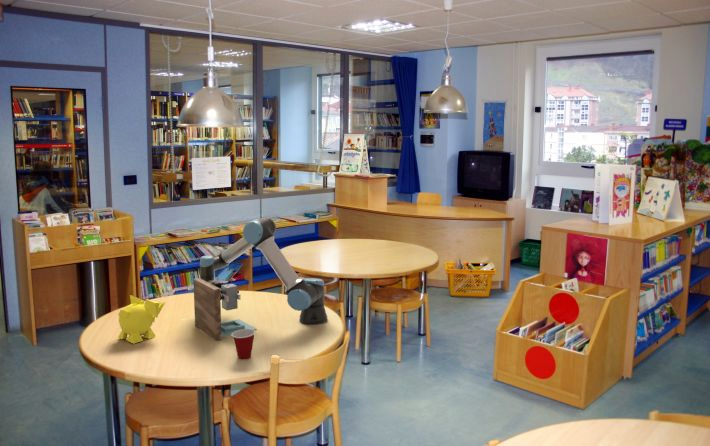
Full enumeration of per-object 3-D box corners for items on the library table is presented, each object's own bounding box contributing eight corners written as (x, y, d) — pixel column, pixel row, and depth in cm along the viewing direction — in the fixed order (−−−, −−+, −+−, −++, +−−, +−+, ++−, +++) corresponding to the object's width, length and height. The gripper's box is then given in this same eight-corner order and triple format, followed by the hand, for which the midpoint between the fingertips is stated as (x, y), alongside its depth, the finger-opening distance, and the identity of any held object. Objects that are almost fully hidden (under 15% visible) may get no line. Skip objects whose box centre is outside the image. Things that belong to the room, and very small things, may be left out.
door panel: (201, 325, 325) (199, 277, 320) (222, 339, 304) (221, 288, 300) (195, 326, 323) (193, 278, 318) (215, 340, 302) (214, 289, 298)
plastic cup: (233, 353, 286) (232, 328, 284) (256, 352, 287) (256, 328, 285) (230, 362, 276) (229, 336, 274) (254, 361, 277) (254, 336, 275)
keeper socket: (239, 319, 335) (239, 316, 334) (256, 329, 319) (256, 326, 318) (204, 326, 323) (204, 323, 322) (220, 337, 307) (220, 333, 307)
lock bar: (232, 305, 323) (231, 283, 321) (237, 308, 318) (237, 286, 316) (221, 307, 320) (221, 285, 318) (226, 310, 315) (226, 287, 313)
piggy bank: (167, 335, 310) (166, 298, 307) (135, 346, 293) (133, 307, 290) (141, 327, 320) (139, 291, 317) (109, 338, 304) (106, 300, 301)
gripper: (231, 292, 338) (250, 302, 320) (198, 297, 327) (216, 308, 309) (230, 278, 337) (250, 288, 319) (198, 284, 326) (216, 294, 308)
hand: (233, 298), depth 314 cm, fingers closed on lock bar, 6 cm apart
